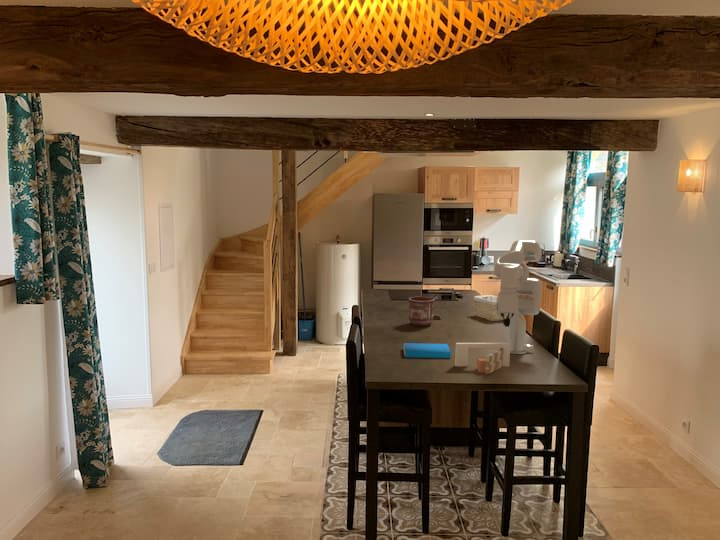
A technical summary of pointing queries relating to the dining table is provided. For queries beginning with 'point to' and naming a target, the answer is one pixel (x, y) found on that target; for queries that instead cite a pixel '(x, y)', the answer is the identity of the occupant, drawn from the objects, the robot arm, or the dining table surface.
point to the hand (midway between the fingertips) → (506, 326)
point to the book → (427, 350)
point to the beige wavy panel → (494, 361)
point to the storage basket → (487, 307)
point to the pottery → (421, 311)
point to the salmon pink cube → (481, 364)
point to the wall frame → (462, 348)
